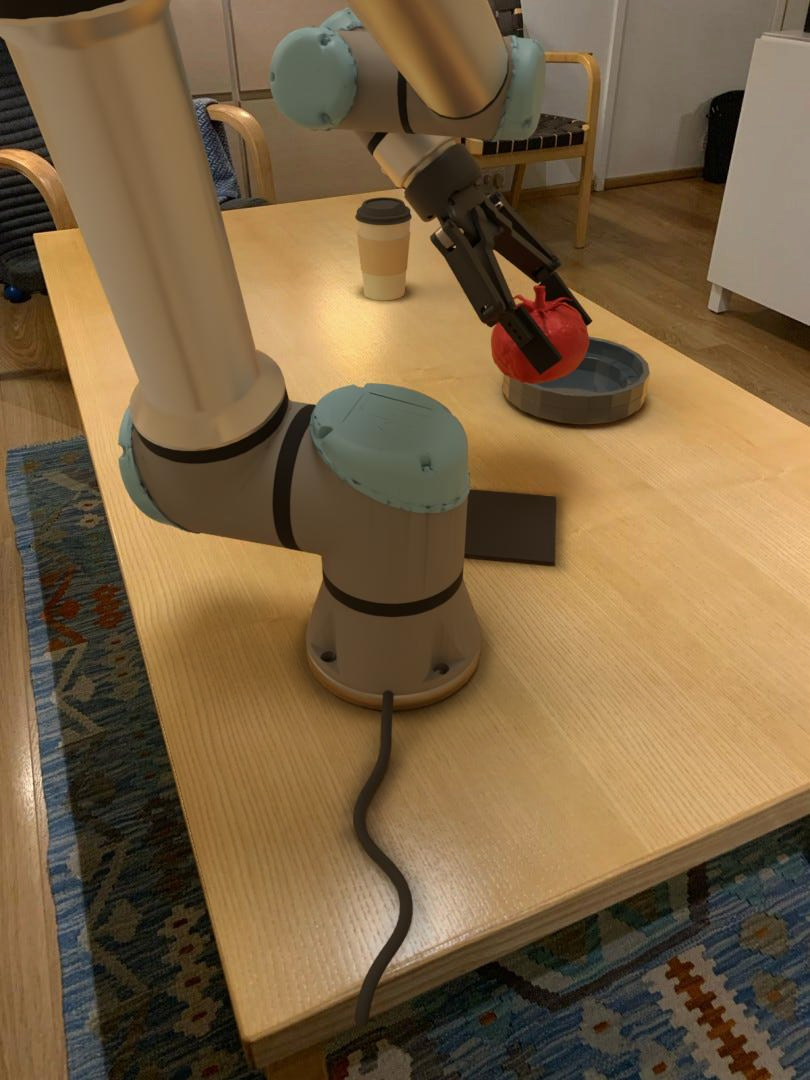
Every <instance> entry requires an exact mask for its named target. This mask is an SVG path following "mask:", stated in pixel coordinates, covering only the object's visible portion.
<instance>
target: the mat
mask: <svg viewBox="0 0 810 1080" xmlns="http://www.w3.org/2000/svg"><path fill="white" fill-rule="evenodd" d="M556 530H557V496H556V495H545V494H534V493H521V492H510V491H496V490H484V489H473V488H472V489H471V488H470V491H469V494H468V501H467V518H466V535H465V552H464V559H465V558H466V559H475V560H486V561H499V562H500V561H501V562H509V563H521V564H529V565H530V564H532V565H543V566H556V538H557V537H556V533H557V531H556Z"/></svg>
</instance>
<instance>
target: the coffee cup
mask: <svg viewBox="0 0 810 1080" xmlns="http://www.w3.org/2000/svg"><path fill="white" fill-rule="evenodd" d="M412 217H413V216H412V213H411V209H410V207H408V206H407V205H406V204H405V202H404V201H403V200H402V199H399V198H396V197H387V196H384V197H383V196H382V197H373V198H369V199H365V200H364V201H363V202H362V204H361V206H360V207H358V208H357V210H356V214H355V216H354V218H355V220H356V225H357V227H356V228H357V231H356V236H357V237H356V238H357V246H358V255H359V264H360V270H361V274H362V284H363V292H364V293H363V294H364V296H365V297H366V298H368V299H370V300H374V301H393V300H397V299H400V298H402V297H404V295H405V291H406V280H407V270H408V264H409V263H408V262H409V250H410V239H411V231H410V230H411V229H410V228H411V220H412Z"/></svg>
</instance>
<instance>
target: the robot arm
mask: <svg viewBox="0 0 810 1080" xmlns="http://www.w3.org/2000/svg"><path fill="white" fill-rule="evenodd" d="M342 1H343V2H344V4H345V5H346V6H347V7H345V8H343V9H342V10H338V11H336V12H334V13H333V14H332V15H329V17H328V18H326V20H324V21H323V22H322V23H321V24H320V25H319V26H316V25H312V26H308V27H301V28H298V29H296V30H294V31H291V32H290V33H288V34H287V35H285V36H284V38H283V39H282V40H281V41H280V42H279V43H278V45H277V46H276V48H275V50H274V52H273V54H272V57H271V60H270V64H269V72H268V80H269V81H268V82H269V87H270V92H271V96H272V98H273V101H274V103H275V106H277V109H278V110H279V111H280V113H281V114H282V115H283V116H284V117H285V118H286V119H287V120H288V121H290V122H291V123H292V124H294V125H296V126H298V127H300V128H302V129H303V128H304V129H309V130H311V131H313V132H316V131H321V132H329V131H331V130H342V131H343V130H345V131H352V132H353V133H354V134H355V135H356V136H357V138H358V139H359V140H360V142H361V143H362V144H363V146H364V147H365V148H366V149H367V150H368V152H369V153H370V155H371V156H372V157H373V158H374V159H375V161H376V162H377V163H378V165H379V166H380V170H381V172H382V173H383V174H384V175H387V176H388V177H389V179H390V180H391V182H392V183H393V184H394V185H395V187H397V188H405V190H404V192H403V194H404V195H403V198H404V199H405V200H406V202H407V203H408V204H409V205H410V207H411V208H412V209H413V211H414V212H415V213H416V215H417V217H418V218H419V219H420V220H421V221H422V222H424V223H429V222H432V221H434V220H435V219H437V221H438V222H439V225H440V226H439V227H438V228H437V229H436V230H435V231H434V232H433V233H432V234H431V235H429V239H430V242H431V244H433V246H434V247H435V249H436V250H437V251H438V252H439V254H441V255H442V257H443V258H444V260H445V261H446V263H447V265H448V267H449V268H450V270H451V272H452V274H453V276H454V277H455V279H456V280H457V282H458V284H459V286H460V287H461V289H462V291H463V292H464V294H465V296H466V298H467V300H468V301H469V303H470V305H471V307H472V308H473V310H474V312H475V314H476V315H477V317H478V319H479V321H480V322H481V323H482V324H484V325H486V326H487V327H488V328H494V327H495V325H496V324H497V323H498V322H499V323H500V324H501V325H502V327H503V328H504V329H505V331H506V332H507V333H508V334H509V336H510V337H511V338H512V340H513V341H514V342H515V344H516V345H517V346H518V347H519V349H520V350H521V351H522V353H523V354H524V355H525V357H526V358H527V359H528V360H529V362H530V363H531V364H532V366H533V367H534V368H535V370H536V371H537V372H538V373H539V375H541V374H542V373H544V372H545V371H547V370H548V369H549V368H551V367H552V366H554V365H555V364H557V363H558V362H560V361H561V360H562V358H563V357H562V356H561V354H560V353H559V352H558V350H557V349H556V348H555V347H554V345H553V344H552V343H551V341H550V340H549V339H548V337H547V336H546V335H545V333H544V332H543V331H542V329H541V328H540V327H539V326H538V324H537V323H536V322H535V320H534V319H533V318H532V316H531V315H530V314H529V312H528V311H527V310H526V308H525V307H524V306H523V305H520V306H519V307H518V308H516V305H517V303H516V301H515V299H513V297H514V295H512V292H511V290H510V287H509V284H508V283H507V281H506V277H505V275H504V273H503V271H502V268H501V266H500V264H499V261H498V259H497V256H496V255H495V252H496V253H497V254H499V255H500V256H501V257H503V258H504V260H506V261H507V262H509V264H511V265H513V266H514V267H515V268H517V269H518V271H520V272H521V273H523V274H524V275H525V276H527V278H529V279H530V280H531V281H533V282H534V283H535V284H537V285H539V286H545V290H544V291H546V293H545V301H555V300H556V299H558V298H561V297H565V298H568V299H570V300H572V301H569V300H562V301H560V302H561V303H562V302H565V303H567V304H568V305H570V306H572V307H574V308H575V309H576V310H577V311H578V312H579V313H580V314H581V317H582V319H583V321H584V323H585V325H586V326H587V327H588V326H589V325H591V323H592V322H593V319H592V318H591V317H590V315H589V314H588V312H587V311H586V310H585V308H584V307H583V306H582V305H581V303H580V302H579V301H578V299H577V298H576V297H575V295H574V293H573V292H572V291H571V290H570V289H569V287H568V285H566V283H565V282H564V280H563V279H562V277H560V275H559V274H558V272H557V271H556V270H558V269H559V268H560V267H561V266H562V262H561V259H560V258H559V257H558V255H557V254H556V253H555V252H554V251H553V250H552V249H551V248H550V247H549V246H548V244H547V243H546V242H545V241H544V240H543V239H542V238H541V237H540V236H539V235H538V234H537V232H535V231H534V229H533V228H532V227H531V226H530V225H529V224H528V223H527V221H525V220H524V219H523V218H522V216H520V215H519V213H517V212H516V210H515V209H514V208H512V206H511V205H510V204H509V202H508V201H507V199H506V198H505V196H504V195H503V193H502V192H501V191H500V190H499V189H497V188H495V189H493V190H492V192H490V193H489V195H486V194H485V193H483V192H482V191H481V190H480V189H479V188H478V187H477V182H478V181H479V180H480V179H481V177H482V175H483V168H482V166H481V165H480V163H479V162H478V161H477V159H476V158H475V157H474V155H472V153H471V152H470V150H469V149H468V147H467V146H466V145H465V144H464V143H461V142H457V143H456V139H457V138H460V139H461V138H462V139H463V138H465V139H475V140H488V142H491V143H495V142H498V141H525V140H527V139H529V138H530V137H532V136H533V134H534V133H535V132H536V131H537V128H538V125H539V123H540V118H541V113H542V109H543V104H544V103H543V102H544V95H545V87H546V86H545V85H546V71H547V69H546V68H547V67H546V65H547V64H546V63H547V62H546V53H545V49H544V47H543V45H542V43H541V42H540V41H539V40H536V39H534V38H526V37H525V38H523V37H519V36H517V35H515V34H513V35H512V34H511V35H510V34H508V35H507V36H503V35H502V33H501V30H500V28H499V26H498V23H497V20H496V18H495V15H494V13H493V11H492V8H491V5H490V3H489V1H488V0H342ZM170 4H171V0H0V38H1V39H2V40H4V42H5V45H6V47H7V49H8V52H9V55H10V57H11V60H12V62H13V65H14V67H15V70H16V73H17V75H18V78H19V81H20V82H21V85H22V88H23V90H24V93H25V95H26V98H27V101H28V103H29V106H30V109H31V110H32V113H33V116H34V118H35V120H36V123H37V126H38V128H39V131H40V133H41V136H42V138H43V140H44V144H45V146H46V148H47V151H48V153H49V156H50V159H51V161H52V163H53V166H54V168H55V169H54V170H55V171H56V173H57V176H58V179H59V182H60V184H61V186H62V189H63V192H64V194H65V197H66V200H67V202H68V204H69V207H70V210H71V212H72V214H73V217H74V219H75V222H76V225H77V227H78V229H79V232H80V235H81V238H82V240H83V243H84V245H85V248H86V250H87V253H88V255H89V257H90V260H91V262H92V265H93V267H94V270H95V272H96V275H97V278H98V280H99V283H100V285H101V288H102V290H103V293H104V295H105V298H106V301H107V303H108V306H109V308H110V311H111V313H112V316H113V319H114V321H115V323H116V326H117V329H118V331H119V333H120V336H121V339H122V341H123V343H124V346H125V349H126V351H127V353H128V356H129V360H130V361H131V364H132V367H133V369H134V372H135V374H136V377H137V379H138V382H137V384H136V385H135V387H134V389H133V391H132V394H131V396H130V399H129V404H128V406H127V408H126V409H125V411H124V414H123V417H122V420H121V423H120V426H119V431H118V432H119V433H118V438H117V439H118V440H117V445H118V446H119V447H121V449H122V454H121V455H120V456H119V457H118V467H119V472H120V476H121V480H122V484H123V485H124V488H125V490H126V493H127V494H128V496H129V498H130V499H131V501H132V502H133V504H134V505H135V506H136V507H137V509H138V510H139V511H140V512H142V514H144V515H145V516H146V517H147V518H149V519H151V520H153V521H155V522H157V523H160V524H162V525H167V526H171V527H173V528H176V529H179V530H180V531H183V532H187V533H192V534H195V535H199V534H205V535H208V536H209V535H210V536H215V537H220V538H226V539H232V540H238V541H244V542H249V543H255V544H259V545H260V544H261V545H265V546H271V547H277V548H283V549H287V550H290V551H291V550H293V551H297V552H303V553H307V554H313V555H317V556H320V559H321V570H322V572H321V573H322V581H321V583H320V587H319V589H318V592H317V595H316V598H315V601H314V604H313V607H312V610H311V613H310V615H309V618H308V622H307V626H306V630H305V647H306V657H307V662H308V666H309V668H310V671H311V672H312V675H314V677H315V678H316V680H317V681H318V682H319V683H320V685H322V687H324V688H325V689H326V690H327V691H328V692H330V693H331V694H332V695H334V696H336V697H337V698H339V699H341V700H343V701H345V702H348V703H349V704H352V705H355V706H359V707H362V708H366V709H372V710H378V711H381V715H380V741H379V742H380V743H379V744H380V745H379V751H378V756H377V759H376V762H375V765H374V768H373V770H372V771H371V773H370V775H369V777H368V778H367V780H366V782H365V783H364V785H363V786H362V788H361V790H360V792H359V794H358V795H357V799H356V801H355V804H354V808H353V813H352V814H353V816H352V818H353V821H352V822H353V823H352V824H353V828H354V833H355V835H356V839H357V840H358V843H359V845H361V847H362V849H363V850H364V852H365V853H366V854H367V856H368V857H369V858H370V859H371V860H372V861H373V862H374V863H375V864H376V865H377V866H378V867H379V868H380V870H381V871H382V872H383V873H384V874H385V875H386V876H387V877H388V879H389V880H390V882H391V883H392V884H393V886H394V888H395V890H396V892H397V895H398V902H399V911H398V912H399V914H398V919H397V921H396V924H395V927H394V929H393V931H392V933H391V935H390V936H389V938H388V939H387V941H386V943H384V946H383V947H382V948H381V949H380V951H379V952H378V954H377V956H376V957H375V959H374V960H373V962H372V963H371V965H370V967H369V969H368V971H367V972H366V974H365V977H364V979H363V982H362V984H361V987H360V990H359V994H358V997H357V1002H356V1006H355V1012H354V1020H353V1021H354V1023H355V1025H356V1027H359V1028H362V1027H365V1026H366V1025H367V1023H369V1019H370V1012H371V1008H372V1004H373V1003H372V1002H373V999H374V996H375V993H376V990H377V987H378V985H379V982H380V980H381V978H382V977H383V974H384V973H385V972H386V970H387V968H388V966H389V965H390V963H391V962H392V960H393V959H394V957H395V956H396V954H397V953H398V951H399V949H400V948H401V946H402V945H403V944H404V941H405V940H406V938H407V936H408V934H409V931H410V928H411V925H412V922H413V915H414V902H413V895H412V892H411V888H410V886H409V883H408V881H407V879H406V877H405V876H404V874H403V872H402V871H401V870H400V869H399V867H398V866H397V865H396V864H395V863H394V862H393V860H392V859H390V858H389V856H388V855H387V854H386V853H385V852H384V851H383V850H382V849H381V848H380V847H379V846H378V845H377V844H376V841H374V840H373V838H372V836H371V835H370V833H369V831H368V828H367V821H366V816H367V815H366V814H367V809H368V805H369V802H370V800H371V798H372V796H373V794H374V792H375V791H376V789H377V787H378V785H379V784H380V782H381V781H382V779H383V777H384V774H385V772H386V771H387V768H388V765H389V763H390V758H391V754H392V753H391V752H392V745H393V744H392V743H393V714H394V713H393V712H394V711H406V710H413V709H414V710H415V709H418V708H423V707H427V706H430V705H433V704H435V703H438V702H440V701H443V700H444V699H447V698H448V697H450V696H451V695H453V694H455V693H456V692H457V691H459V690H460V689H461V688H462V687H463V686H464V685H466V683H467V682H468V681H469V680H470V679H471V677H473V674H474V673H475V671H476V669H477V667H478V664H479V661H480V655H481V644H482V630H481V625H480V622H479V619H478V616H477V613H476V611H475V608H474V604H473V602H472V599H471V596H470V594H469V591H468V588H467V585H466V581H465V579H464V564H465V558H464V552H465V535H466V518H467V501H468V494H469V491H470V489H471V486H472V485H471V484H472V481H471V472H469V470H470V467H469V440H468V435H467V433H466V431H465V428H464V426H463V424H462V423H461V422H460V420H459V418H458V417H456V416H455V415H454V414H453V413H452V412H451V410H450V409H449V407H446V405H444V404H443V403H441V402H440V401H438V400H436V399H435V398H433V397H432V396H429V395H428V394H425V393H422V392H420V391H417V390H415V389H411V388H408V387H404V386H399V385H396V384H395V385H394V384H389V383H375V382H373V383H372V382H368V383H367V382H366V383H365V384H364V386H357V385H356V384H349V385H344V386H341V387H338V388H336V389H333V390H332V391H329V392H327V393H325V395H323V396H321V398H320V399H319V400H318V401H317V403H316V404H314V403H307V402H300V401H294V400H291V399H290V398H289V393H288V390H287V385H286V382H285V377H284V374H283V372H282V369H281V367H280V366H279V364H278V363H277V362H276V361H275V360H274V359H273V358H272V357H271V356H270V355H268V354H266V352H264V351H262V350H259V349H256V345H255V340H254V337H253V333H252V329H251V325H250V321H249V320H250V319H249V317H248V313H247V309H246V304H245V300H244V296H243V293H242V289H241V285H240V280H239V277H238V273H237V270H236V266H235V265H236V264H235V262H234V257H233V254H232V250H231V245H230V242H229V238H228V234H227V229H226V226H225V221H224V218H223V213H222V210H221V206H220V202H219V198H218V194H217V190H216V187H215V182H214V179H213V174H212V170H211V167H210V162H209V159H208V155H207V150H206V146H205V142H204V138H203V135H202V130H201V127H200V123H199V120H198V115H197V111H196V107H195V103H194V99H193V96H192V95H193V94H192V92H191V88H190V83H189V80H188V76H187V72H186V68H185V63H184V59H183V56H182V52H181V48H180V44H179V40H178V36H177V32H176V28H175V24H174V19H173V17H172V12H171V9H170V8H171V7H170ZM494 251H495V252H494Z"/></svg>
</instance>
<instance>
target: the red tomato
mask: <svg viewBox="0 0 810 1080" xmlns="http://www.w3.org/2000/svg"><path fill="white" fill-rule="evenodd" d="M544 290H545V286H539V284H537V285H533V291H534V294H535V295H534V297H535V298H534V301H533V300H532V299H531V300H530V299H528V298H525V297H524V296H523V295H521V294H517V295H515V296H513V299H514V300H516V299H518V300H520V301H521V302H518V303H516V308H518V307H519V306H520V305H523V306H524V307H525V308H526V310H527V311H528V312H529V314H530V315H531V316H532V318H533V319H534V320H535V322H536V323H537V324H538V326H539V327H540V328H541V329H542V331H543V332H544V333H545V335H546V336H547V337H548V339H549V340H550V341H551V343H552V344H553V345H554V347H555V348H556V349H557V350H558V352H559V353H560V354H561V356H562V357H563V358H562V360H561V361H560V362H558V363H557V364H555V365H554V366H552V367H551V368H549V369H548V370H547V371H545V372H544V373H542V374H541V375H539V373H538V372H537V371H536V370H535V368H534V367H533V366H532V364H531V363H530V362H529V360H528V359H527V358H526V357H525V355H524V354H523V353H522V351H521V350H520V349H519V347H518V346H517V345H516V344H515V342H514V341H513V340H512V338H511V337H510V336H509V334H508V333H507V332H506V331H505V329H504V328H503V327H502V325H501V324H500V323H499V322H498V323H497V324H496V325H494V326H493V329H492V332H491V336H490V349H491V357H492V361H493V363H494V364H495V365H496V366H497V368H498V370H499V371H500V372H501V373H502V374H503V375H504V374H505V375H506V376H508V377H510V378H514V379H517V380H518V381H519V382H522V383H530V384H537V383H543V382H549V381H553V380H557V379H559V378H561V377H564V376H567V375H568V374H570V373H571V372H573V371H575V369H576V368H577V367H578V366H579V364H580V363H581V362H582V361H583V359H584V357H585V354H586V352H587V350H588V347H589V337H590V336H589V331H588V326H586V325H585V323H584V321H583V319H582V317H581V314H580V313H579V312H578V311H577V310H576V309H575V308H574V307H572V306H570V305H568V304H567V303H565V302H562V303H561V302H560V301H562V300H569V301H572V300H570V299H568V298H565V297H561V298H558V299H556V300H555V301H545V293H546V291H544Z"/></svg>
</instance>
